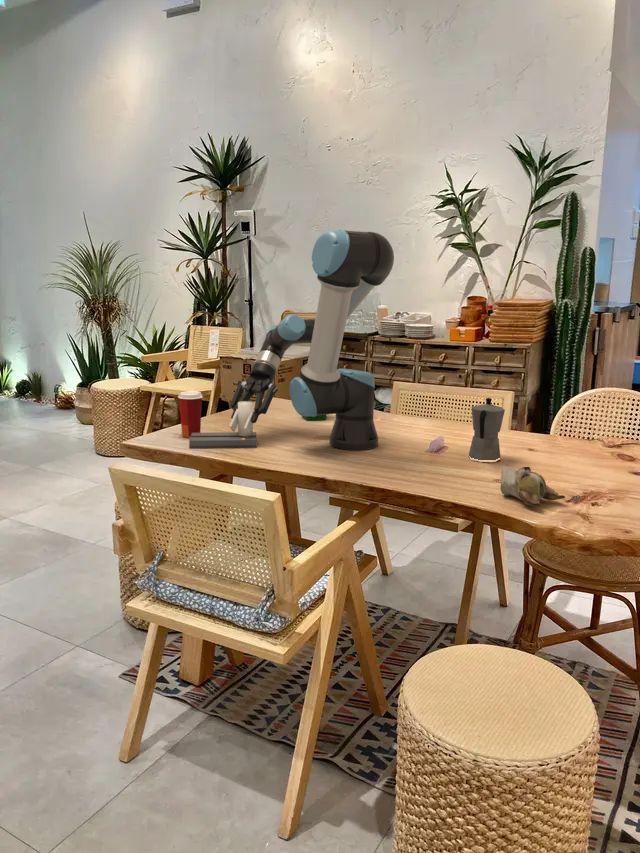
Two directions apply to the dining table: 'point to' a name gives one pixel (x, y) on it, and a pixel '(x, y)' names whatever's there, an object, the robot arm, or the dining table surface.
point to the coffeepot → (486, 431)
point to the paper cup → (190, 412)
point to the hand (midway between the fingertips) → (239, 429)
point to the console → (222, 440)
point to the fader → (244, 417)
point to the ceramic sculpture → (526, 486)
